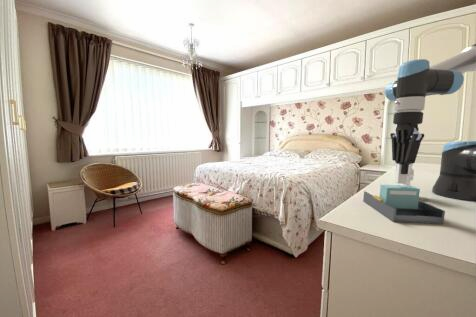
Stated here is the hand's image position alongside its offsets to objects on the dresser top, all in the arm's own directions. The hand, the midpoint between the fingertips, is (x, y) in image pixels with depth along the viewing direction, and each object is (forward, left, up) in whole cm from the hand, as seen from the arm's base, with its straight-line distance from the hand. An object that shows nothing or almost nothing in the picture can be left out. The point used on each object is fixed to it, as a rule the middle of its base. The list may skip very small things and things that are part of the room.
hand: (400, 182), depth 72 cm
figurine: (-14, -19, -10) cm, 26 cm away
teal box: (0, 0, -9) cm, 9 cm away
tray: (0, 0, -10) cm, 10 cm away
